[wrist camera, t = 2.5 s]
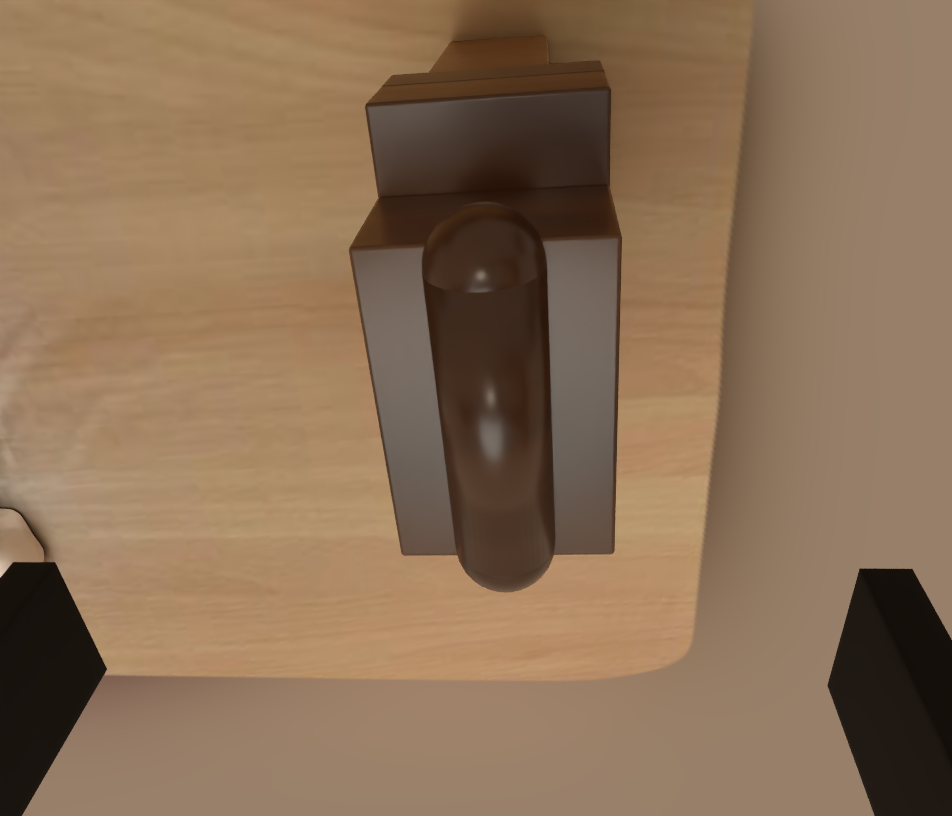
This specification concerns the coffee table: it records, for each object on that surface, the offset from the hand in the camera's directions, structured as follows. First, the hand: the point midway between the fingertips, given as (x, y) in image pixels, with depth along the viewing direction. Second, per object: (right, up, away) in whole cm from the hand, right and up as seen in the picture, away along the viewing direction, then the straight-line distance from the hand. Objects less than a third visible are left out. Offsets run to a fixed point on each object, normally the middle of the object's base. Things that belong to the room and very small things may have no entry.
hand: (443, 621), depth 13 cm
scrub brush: (+1, +7, +9) cm, 12 cm away
